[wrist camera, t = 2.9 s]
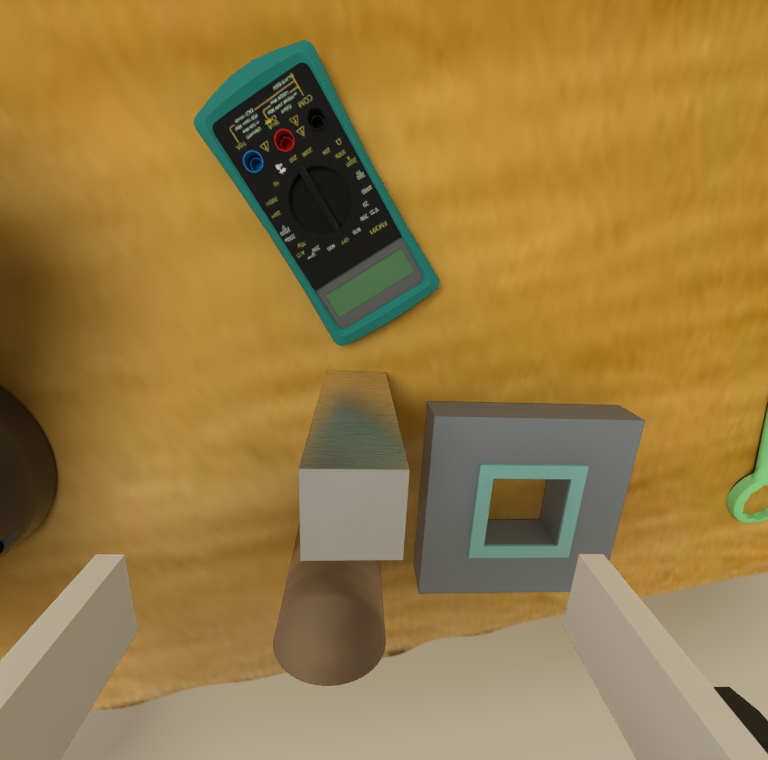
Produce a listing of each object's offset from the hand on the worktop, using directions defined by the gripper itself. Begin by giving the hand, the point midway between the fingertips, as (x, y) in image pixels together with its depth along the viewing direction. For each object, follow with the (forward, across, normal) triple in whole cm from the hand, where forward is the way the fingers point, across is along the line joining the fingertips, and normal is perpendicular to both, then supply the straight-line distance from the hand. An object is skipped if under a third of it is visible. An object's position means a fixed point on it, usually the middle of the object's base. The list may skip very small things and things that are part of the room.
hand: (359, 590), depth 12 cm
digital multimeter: (+17, -2, +12) cm, 21 cm away
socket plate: (+16, +12, -7) cm, 21 cm away
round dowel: (+16, -1, -10) cm, 19 cm away
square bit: (+16, 0, 0) cm, 16 cm away
